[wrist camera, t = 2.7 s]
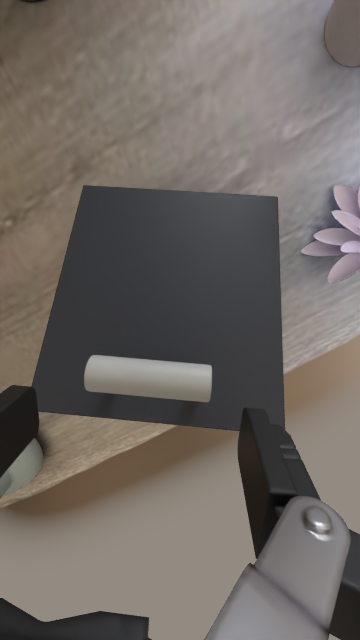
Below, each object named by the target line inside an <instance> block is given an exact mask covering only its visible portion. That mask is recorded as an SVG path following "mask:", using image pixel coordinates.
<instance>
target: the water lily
mask: <svg viewBox="0 0 360 640" xmlns="http://www.w3.org/2000/svg"><path fill="white" fill-rule="evenodd" d="M334 197H335V200H336V202H337V204H338V206H339V208H340V209H341V210H334V211H332V214H333V216H334V217H335V219H336V220H337V221H338V222H339V223H340V224H341V225H342V226H343V227H345V228H346V229H344V228H329V229H324V230H321V231H319V232H317V233H315V234H314V235H313V236H314V238H315V239H317V241H314V242H312V243H310V244H308V245H306V246H305V247H304V248H303V249H302V250H301V253H303V254H306V255H310V256H339V255H345V256H344V257H342V258H341V259H340V260H339V261H338V262H337V263H336V264H335V265H334V266H333V267H332V269H331V270H330V272H329V275H328V283H335V282H339V281H342V280H344V279H346V278H348V277H350V276H352V275H354V274H355V273H357V272H358V271H360V186H359V190H358V192H357V191H356V190H354V189H353V188H351V187H348V186H345V185H335V186H334ZM346 254H347V255H346Z"/></svg>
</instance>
